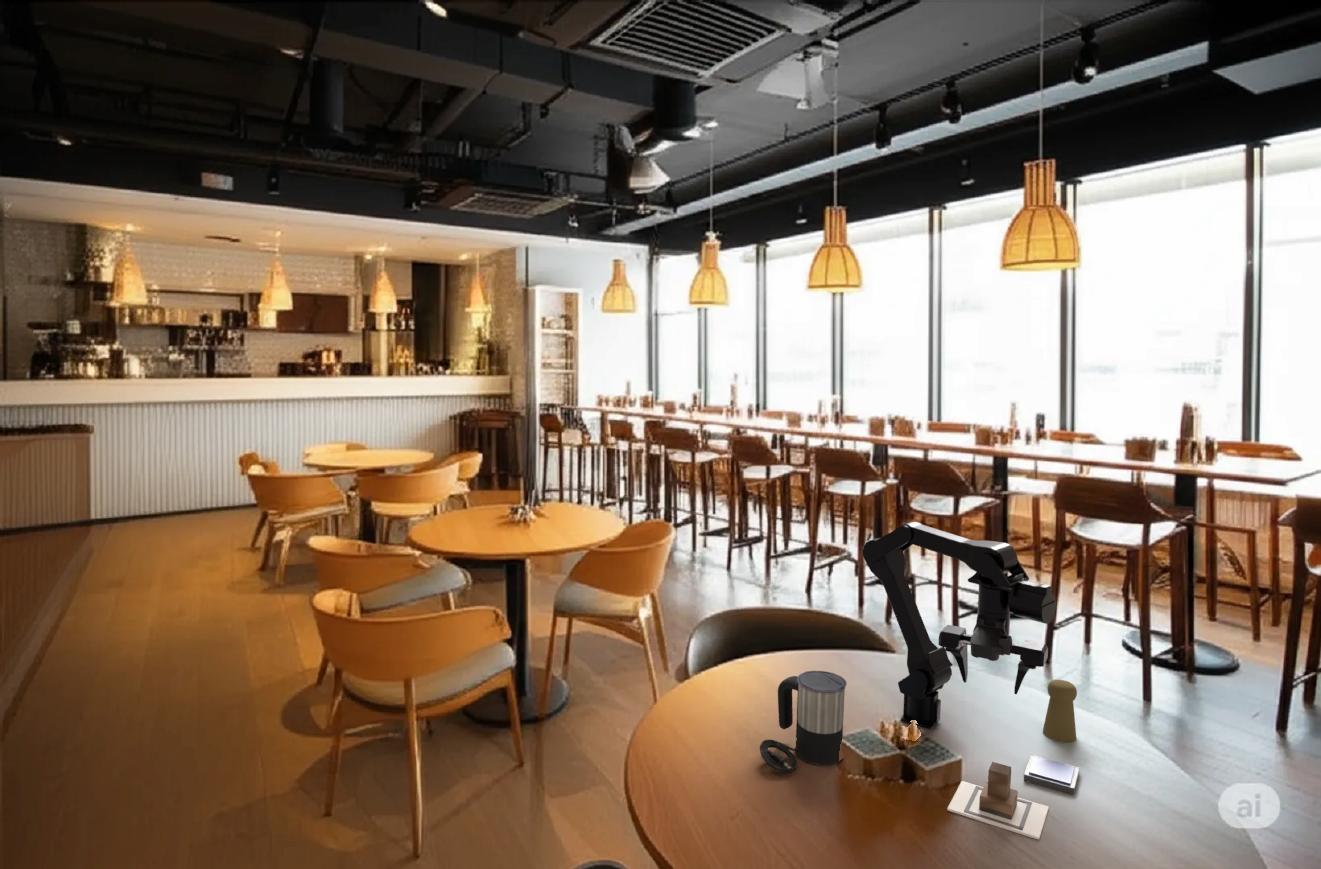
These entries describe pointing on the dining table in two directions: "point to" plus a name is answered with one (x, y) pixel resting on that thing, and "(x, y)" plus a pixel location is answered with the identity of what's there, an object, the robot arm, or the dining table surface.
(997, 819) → the print card
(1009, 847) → the dining table surface
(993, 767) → the stamp
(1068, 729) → the cork
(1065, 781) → the ink pad
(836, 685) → the milk frother
